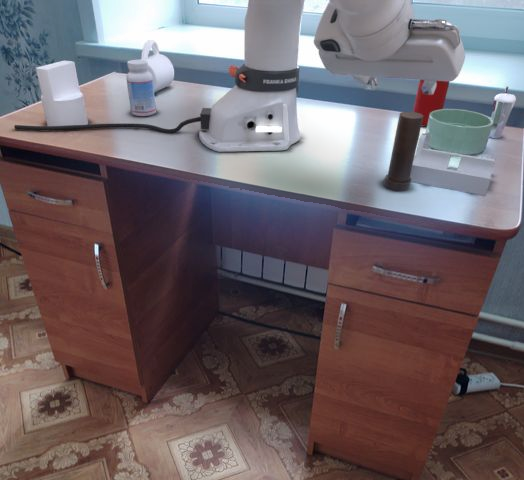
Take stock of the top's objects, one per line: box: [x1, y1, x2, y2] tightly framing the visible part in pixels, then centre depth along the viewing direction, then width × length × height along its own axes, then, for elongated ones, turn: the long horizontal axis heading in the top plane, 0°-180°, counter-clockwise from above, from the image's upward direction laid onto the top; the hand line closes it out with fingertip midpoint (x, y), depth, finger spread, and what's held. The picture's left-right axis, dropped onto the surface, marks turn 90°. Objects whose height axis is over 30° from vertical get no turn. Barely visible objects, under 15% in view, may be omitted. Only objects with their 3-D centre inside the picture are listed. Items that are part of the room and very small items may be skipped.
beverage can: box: [412, 80, 451, 127], centre depth 120 cm, size 7×7×12 cm
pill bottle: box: [125, 59, 157, 117], centre depth 120 cm, size 6×6×11 cm
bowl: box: [424, 108, 493, 156], centre depth 110 cm, size 13×13×6 cm
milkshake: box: [489, 85, 517, 139], centre depth 115 cm, size 5×5×10 cm
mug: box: [128, 39, 175, 94], centre depth 136 cm, size 8×10×12 cm
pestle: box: [383, 111, 423, 192], centre depth 90 cm, size 5×5×12 cm
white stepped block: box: [35, 60, 89, 126], centre depth 112 cm, size 9×9×12 cm
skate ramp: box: [410, 132, 497, 197], centre depth 97 cm, size 15×13×5 cm
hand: (400, 88), depth 78 cm, fingers open, 8 cm apart
